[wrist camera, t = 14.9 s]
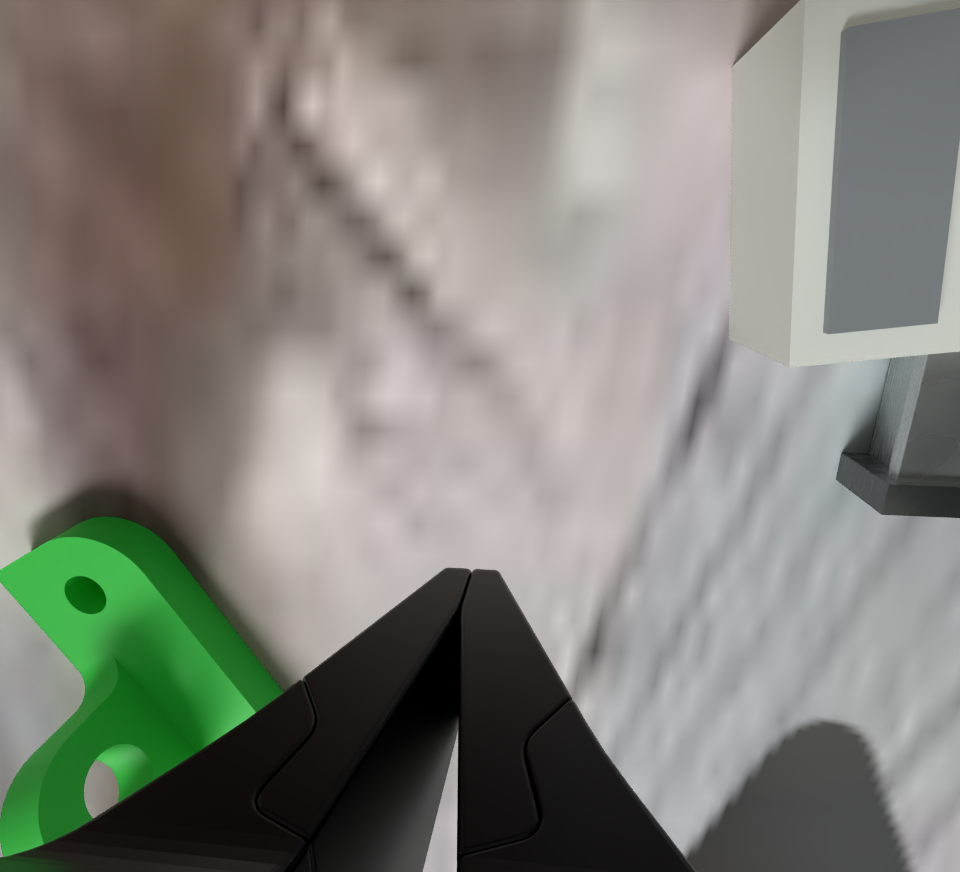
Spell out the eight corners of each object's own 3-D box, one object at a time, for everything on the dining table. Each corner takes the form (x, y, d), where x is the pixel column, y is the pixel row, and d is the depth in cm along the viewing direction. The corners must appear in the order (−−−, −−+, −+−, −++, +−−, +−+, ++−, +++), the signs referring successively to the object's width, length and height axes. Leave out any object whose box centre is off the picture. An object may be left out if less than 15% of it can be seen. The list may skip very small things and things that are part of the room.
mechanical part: (295, 702, 26) (194, 887, 18) (200, 744, 27) (70, 931, 20) (131, 491, 23) (-66, 605, 16) (35, 549, 25) (-188, 679, 17)
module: (902, 40, 16) (1066, -58, 11) (877, 323, 18) (1002, 350, 13) (730, 68, 17) (811, -12, 12) (727, 338, 19) (794, 370, 14)
